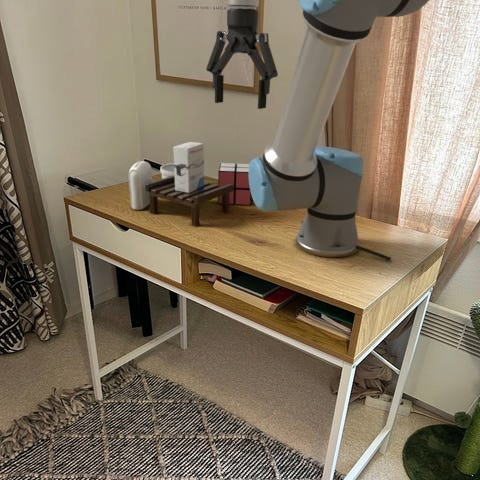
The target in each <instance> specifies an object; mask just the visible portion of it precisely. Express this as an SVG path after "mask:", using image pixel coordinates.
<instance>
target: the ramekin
mask: <svg viewBox="0 0 480 480" xmlns="http://www.w3.org/2000/svg"><path fill="white" fill-rule="evenodd" d="M160 174H161V179H164V178H167V177H170V176H174V175H175V172H174V162H171V163H166V164H163V165H161V166H160Z"/></svg>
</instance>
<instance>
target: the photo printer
mask: <svg viewBox="0 0 480 480" xmlns="http://www.w3.org/2000/svg"><path fill="white" fill-rule="evenodd" d="M150 182H153V171H152V166H151V164H150V163H149V162H148V161H142V160H139V161H137V162H136V163H134V164H133V165H132V166H131V167H130V169H129V171H128V187H129V198H130V207H131V208H132V209H133V210H136V211H137V210H138V211H140V210H144V209H145V208H147V207H148V206H150V198H149V192H148V191H146V187H145V184H147V183H150Z"/></svg>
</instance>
